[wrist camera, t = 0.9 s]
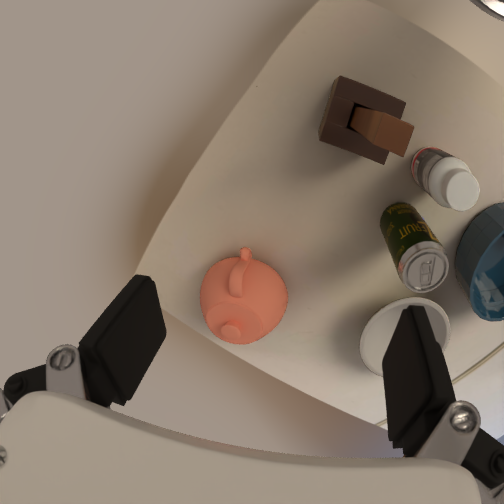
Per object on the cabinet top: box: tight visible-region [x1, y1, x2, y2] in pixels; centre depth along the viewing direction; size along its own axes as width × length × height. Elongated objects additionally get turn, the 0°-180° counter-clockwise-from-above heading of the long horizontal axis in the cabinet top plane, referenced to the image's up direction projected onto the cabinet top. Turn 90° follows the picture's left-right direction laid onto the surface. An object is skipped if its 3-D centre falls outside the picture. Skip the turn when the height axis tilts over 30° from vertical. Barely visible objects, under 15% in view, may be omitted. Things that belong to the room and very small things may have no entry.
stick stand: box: [318, 76, 406, 165], centre depth 27 cm, size 7×7×7 cm
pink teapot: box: [200, 247, 288, 344], centre depth 39 cm, size 12×14×10 cm
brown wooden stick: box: [348, 106, 414, 157], centre depth 22 cm, size 2×2×18 cm
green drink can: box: [380, 203, 449, 293], centre depth 29 cm, size 5×5×12 cm
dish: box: [359, 297, 450, 377], centre depth 40 cm, size 18×14×5 cm
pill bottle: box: [411, 147, 479, 211], centre depth 26 cm, size 5×5×10 cm
